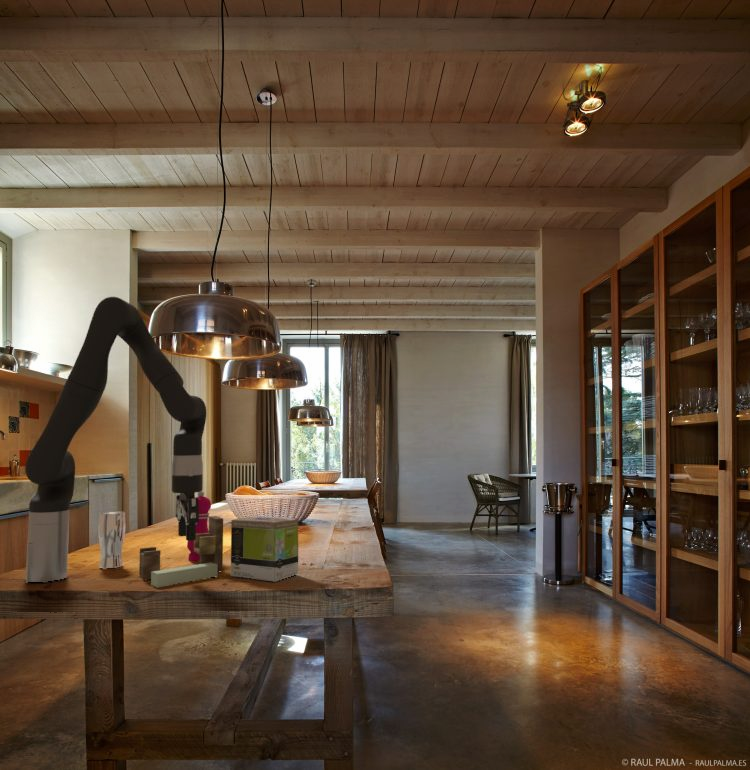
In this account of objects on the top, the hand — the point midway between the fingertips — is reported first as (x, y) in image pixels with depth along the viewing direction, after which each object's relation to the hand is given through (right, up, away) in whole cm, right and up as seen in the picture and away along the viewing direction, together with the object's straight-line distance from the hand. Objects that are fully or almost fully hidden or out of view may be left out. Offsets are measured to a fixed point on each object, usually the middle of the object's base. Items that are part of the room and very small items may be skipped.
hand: (186, 538), depth 154 cm
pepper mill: (-4, -13, +26) cm, 30 cm away
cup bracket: (+2, -11, +11) cm, 16 cm away
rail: (0, -11, -1) cm, 11 cm away
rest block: (-11, -11, +3) cm, 16 cm away
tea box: (+19, -11, +4) cm, 22 cm away
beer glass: (-26, -12, +16) cm, 33 cm away
